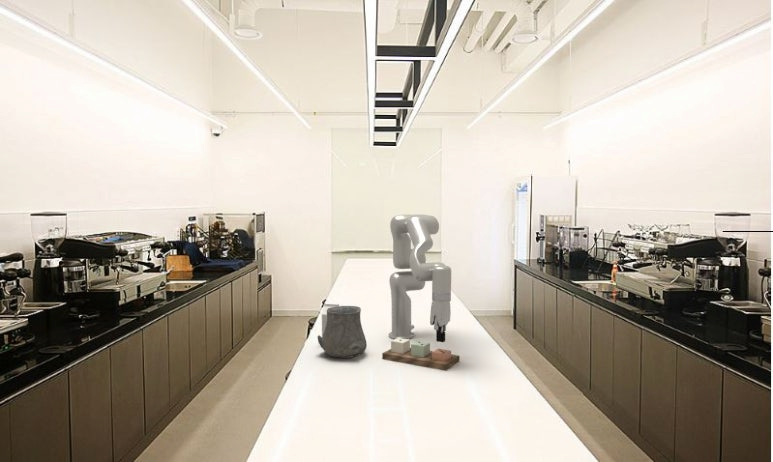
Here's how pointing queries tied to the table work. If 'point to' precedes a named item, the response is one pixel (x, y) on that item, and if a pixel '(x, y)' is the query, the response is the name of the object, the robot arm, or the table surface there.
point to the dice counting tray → (421, 360)
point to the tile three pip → (441, 355)
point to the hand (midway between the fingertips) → (440, 341)
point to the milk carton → (324, 315)
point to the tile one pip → (400, 345)
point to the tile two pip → (420, 349)
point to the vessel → (343, 332)
